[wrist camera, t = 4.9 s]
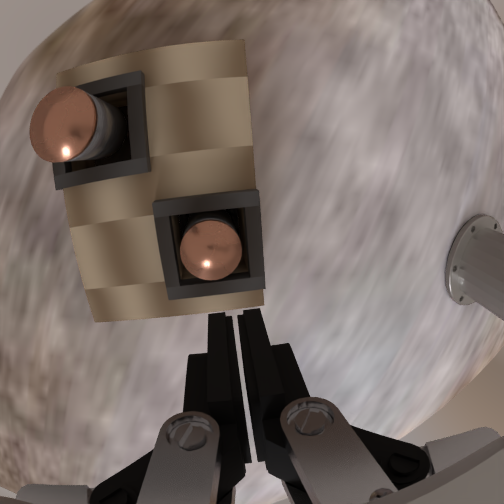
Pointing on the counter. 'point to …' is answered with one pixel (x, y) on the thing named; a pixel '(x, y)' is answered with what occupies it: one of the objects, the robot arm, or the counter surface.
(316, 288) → the counter surface
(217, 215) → the peg
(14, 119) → the counter surface
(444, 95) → the counter surface
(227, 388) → the robot arm
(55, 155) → the peg
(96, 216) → the maple block
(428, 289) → the counter surface
